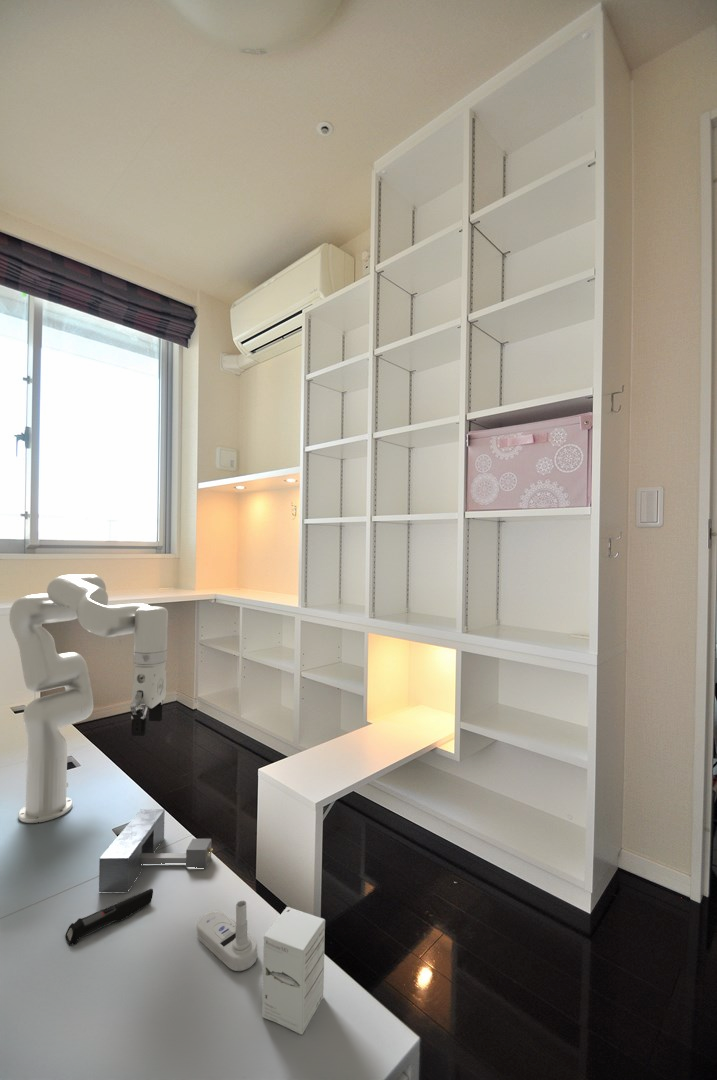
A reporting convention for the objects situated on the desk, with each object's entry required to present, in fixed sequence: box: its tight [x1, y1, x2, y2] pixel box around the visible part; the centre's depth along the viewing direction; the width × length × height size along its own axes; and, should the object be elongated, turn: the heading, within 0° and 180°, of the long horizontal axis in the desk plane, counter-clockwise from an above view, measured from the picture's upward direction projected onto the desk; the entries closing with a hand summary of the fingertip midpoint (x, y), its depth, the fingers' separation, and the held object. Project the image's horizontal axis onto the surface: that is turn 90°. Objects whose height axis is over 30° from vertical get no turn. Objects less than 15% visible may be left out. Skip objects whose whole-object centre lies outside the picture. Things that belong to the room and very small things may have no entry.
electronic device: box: [196, 900, 258, 972], centre depth 90 cm, size 5×10×15 cm
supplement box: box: [261, 906, 326, 1036], centre depth 78 cm, size 7×7×13 cm
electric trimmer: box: [64, 888, 154, 946], centre depth 96 cm, size 4×16×3 cm, turn 133°
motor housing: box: [98, 808, 166, 893], centre depth 114 cm, size 6×20×7 cm, turn 0°
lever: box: [141, 838, 214, 869], centre depth 114 cm, size 22×4×4 cm, turn 91°
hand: (147, 727), depth 121 cm, fingers open, 9 cm apart
